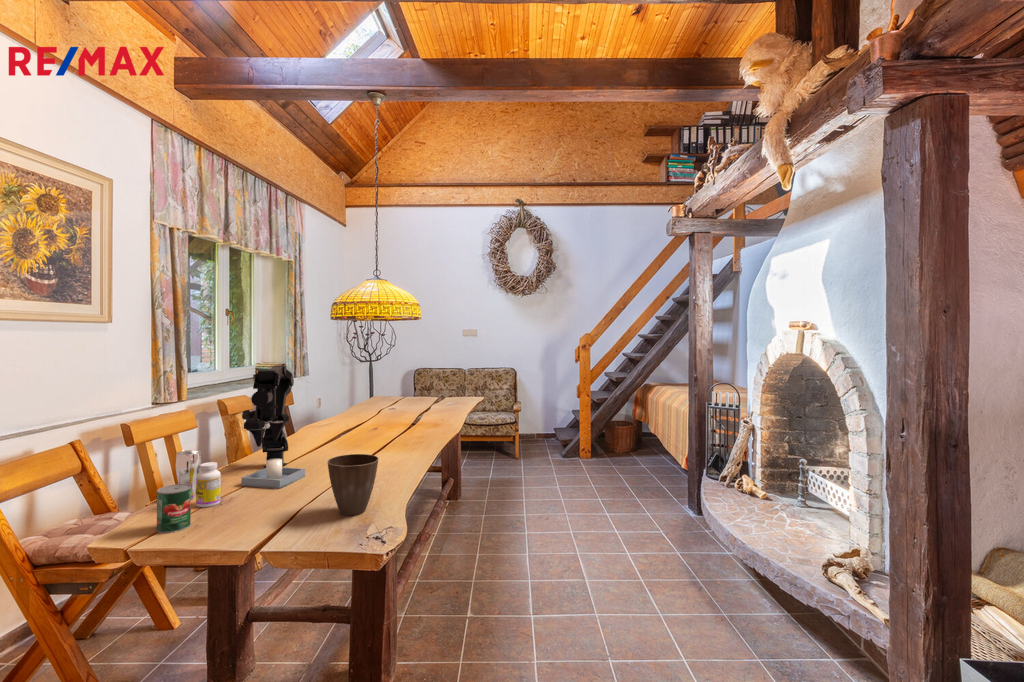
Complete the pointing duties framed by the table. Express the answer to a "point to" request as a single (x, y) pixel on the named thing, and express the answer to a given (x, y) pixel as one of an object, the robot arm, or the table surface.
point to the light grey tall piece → (188, 468)
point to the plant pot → (352, 481)
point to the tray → (260, 479)
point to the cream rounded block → (274, 469)
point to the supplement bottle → (208, 485)
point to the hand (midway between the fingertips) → (267, 443)
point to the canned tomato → (173, 508)
